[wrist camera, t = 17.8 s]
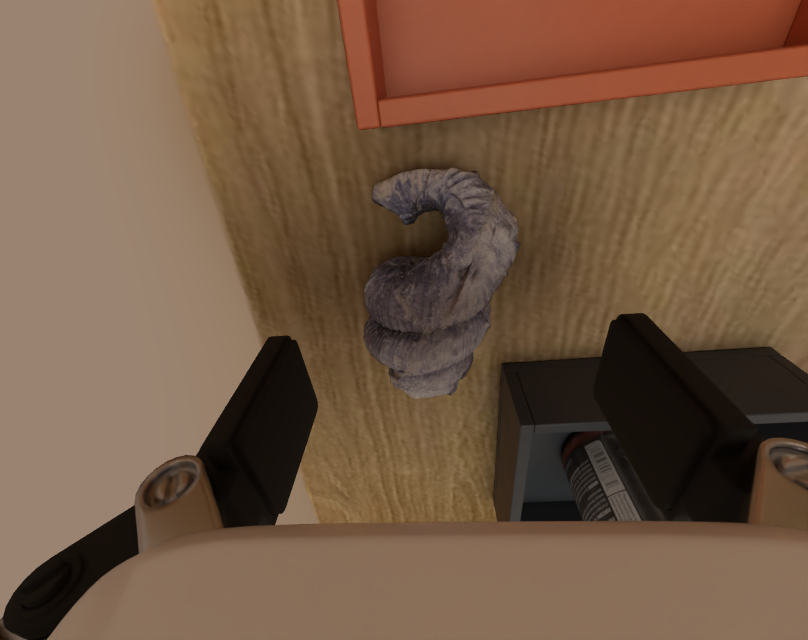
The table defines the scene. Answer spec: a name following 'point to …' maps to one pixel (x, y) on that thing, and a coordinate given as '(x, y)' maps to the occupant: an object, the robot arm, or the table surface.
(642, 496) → the supplement bottle
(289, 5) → the table surface
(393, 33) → the terracotta bin
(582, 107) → the table surface
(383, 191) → the grey curved ribbed piece
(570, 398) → the slate bin
